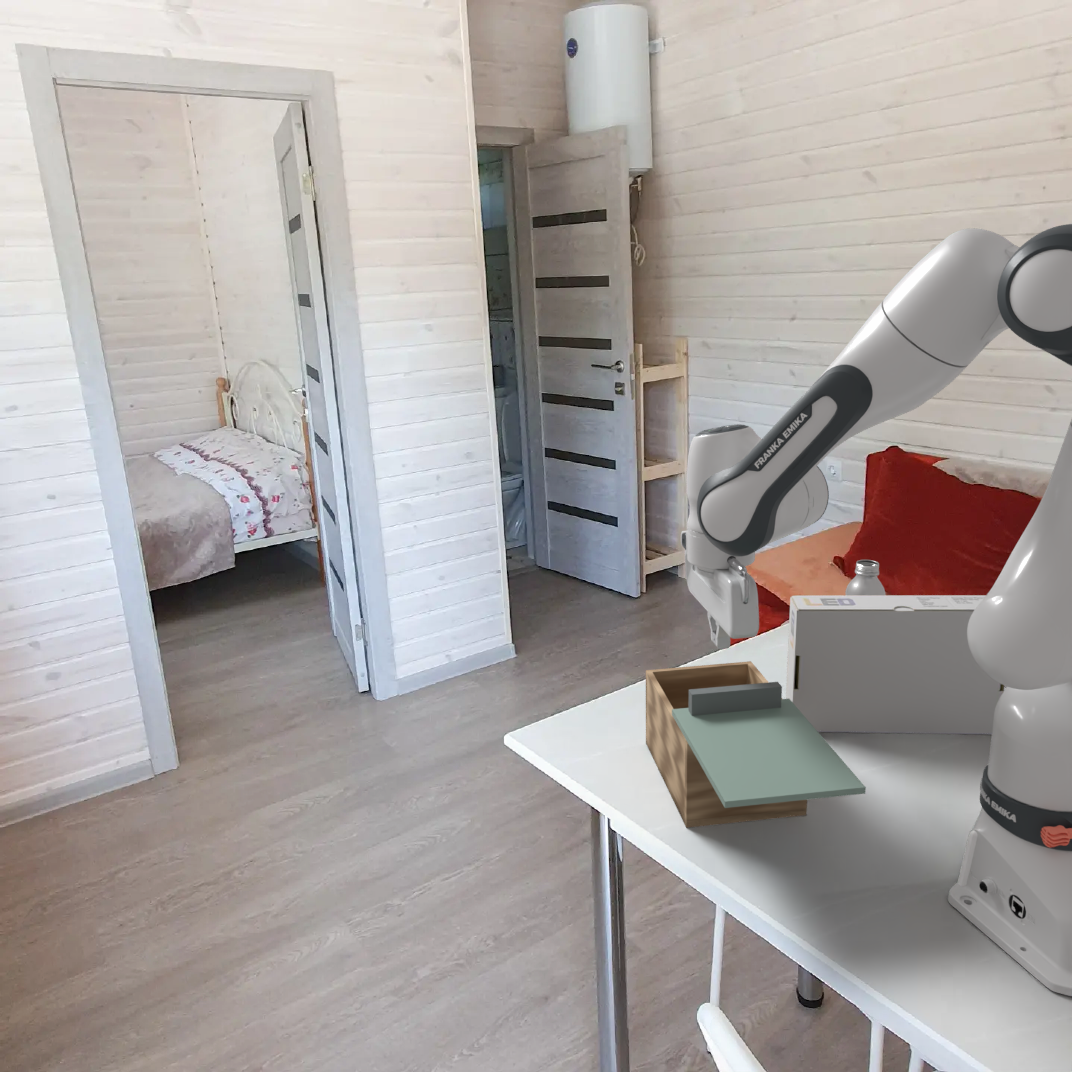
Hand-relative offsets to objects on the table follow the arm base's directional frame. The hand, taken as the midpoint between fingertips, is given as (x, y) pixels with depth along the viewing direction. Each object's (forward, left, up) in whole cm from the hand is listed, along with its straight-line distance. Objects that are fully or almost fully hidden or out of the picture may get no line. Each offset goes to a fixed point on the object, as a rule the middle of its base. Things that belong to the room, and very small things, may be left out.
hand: (720, 645), depth 125 cm
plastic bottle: (+27, -34, -20) cm, 47 cm away
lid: (-16, 0, -7) cm, 18 cm away
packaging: (+9, -30, -20) cm, 37 cm away
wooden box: (-1, 0, -19) cm, 19 cm away
